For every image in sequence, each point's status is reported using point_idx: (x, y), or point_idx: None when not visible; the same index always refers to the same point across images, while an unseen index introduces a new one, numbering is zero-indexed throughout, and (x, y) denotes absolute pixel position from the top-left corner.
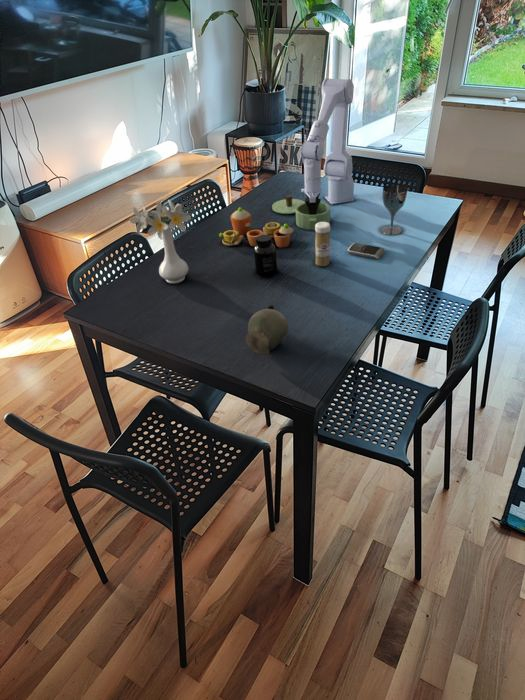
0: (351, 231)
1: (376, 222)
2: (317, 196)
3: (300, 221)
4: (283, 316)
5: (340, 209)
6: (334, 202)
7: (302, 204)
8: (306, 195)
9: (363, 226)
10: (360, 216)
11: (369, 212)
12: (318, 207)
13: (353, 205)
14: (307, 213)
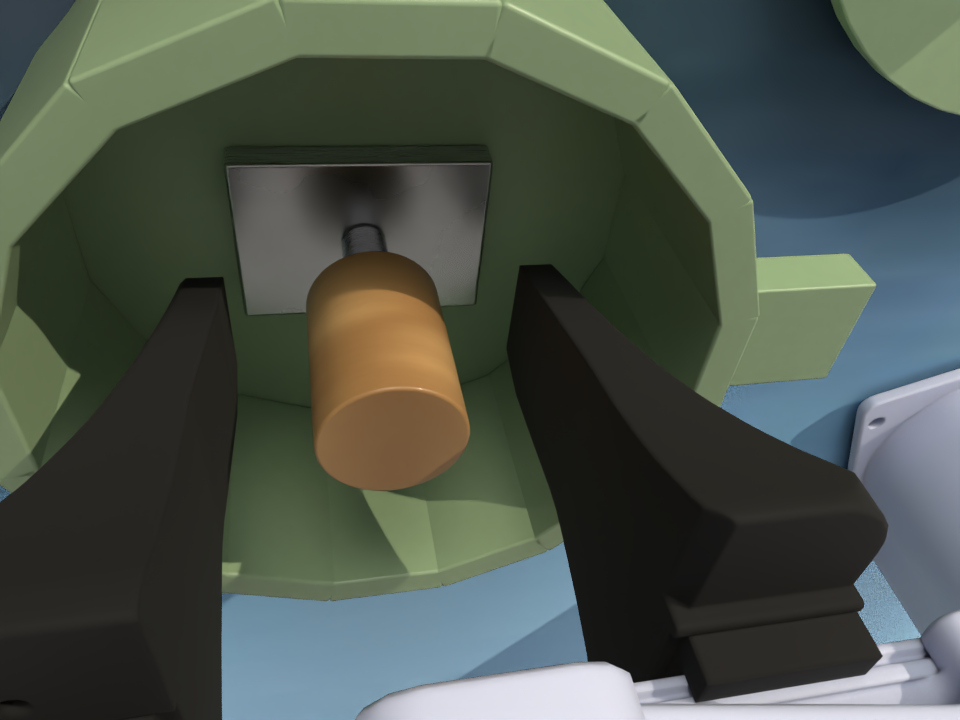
0: None
1: (333, 690)
2: (589, 612)
3: (55, 44)
4: None
5: None
6: (879, 428)
7: (678, 181)
8: (668, 478)
9: (243, 643)
10: (478, 606)
11: (548, 639)
12: None
13: None
14: (630, 151)
